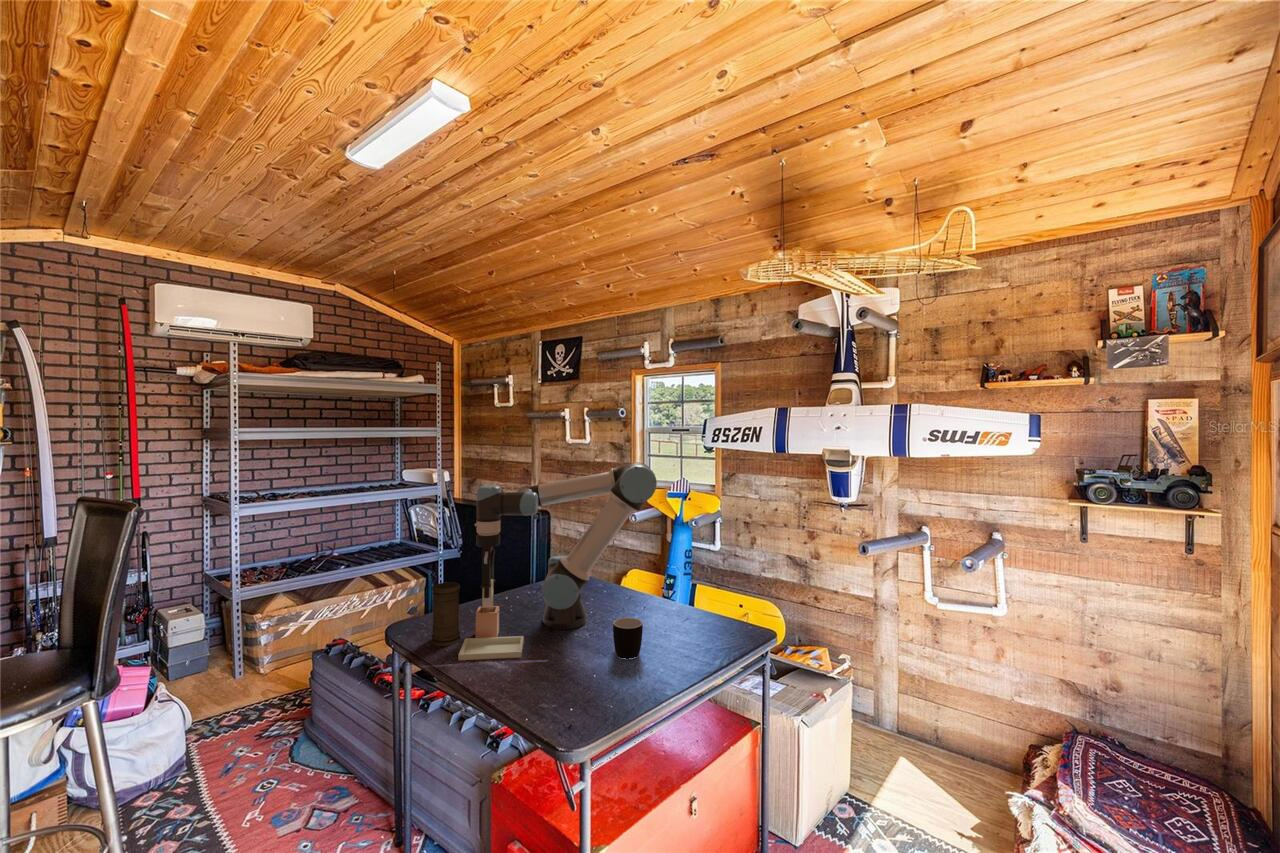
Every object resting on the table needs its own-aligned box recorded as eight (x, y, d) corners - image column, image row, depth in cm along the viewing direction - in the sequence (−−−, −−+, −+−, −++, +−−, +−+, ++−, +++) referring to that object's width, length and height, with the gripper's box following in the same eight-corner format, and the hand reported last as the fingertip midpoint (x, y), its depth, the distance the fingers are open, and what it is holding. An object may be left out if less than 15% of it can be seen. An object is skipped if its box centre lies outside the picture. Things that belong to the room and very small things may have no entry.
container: (451, 648, 172) (451, 590, 171) (425, 646, 173) (425, 588, 173) (466, 637, 180) (466, 582, 180) (441, 635, 182) (441, 580, 182)
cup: (498, 632, 185) (499, 605, 184) (496, 640, 178) (496, 612, 178) (478, 633, 184) (478, 606, 184) (475, 641, 177) (475, 613, 177)
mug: (648, 657, 167) (648, 624, 167) (623, 665, 162) (623, 630, 162) (626, 644, 177) (626, 612, 176) (602, 650, 172) (602, 618, 171)
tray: (523, 642, 177) (523, 636, 177) (521, 659, 165) (521, 651, 165) (465, 645, 174) (465, 638, 174) (458, 662, 162) (458, 654, 162)
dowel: (493, 633, 183) (493, 578, 183) (492, 637, 179) (492, 581, 179) (482, 633, 182) (483, 579, 182) (481, 637, 179) (481, 582, 179)
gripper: (480, 528, 188) (479, 597, 188) (472, 538, 172) (471, 614, 172) (502, 528, 189) (502, 596, 189) (497, 538, 173) (496, 613, 173)
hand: (487, 604), depth 181 cm, fingers closed on dowel, 3 cm apart
